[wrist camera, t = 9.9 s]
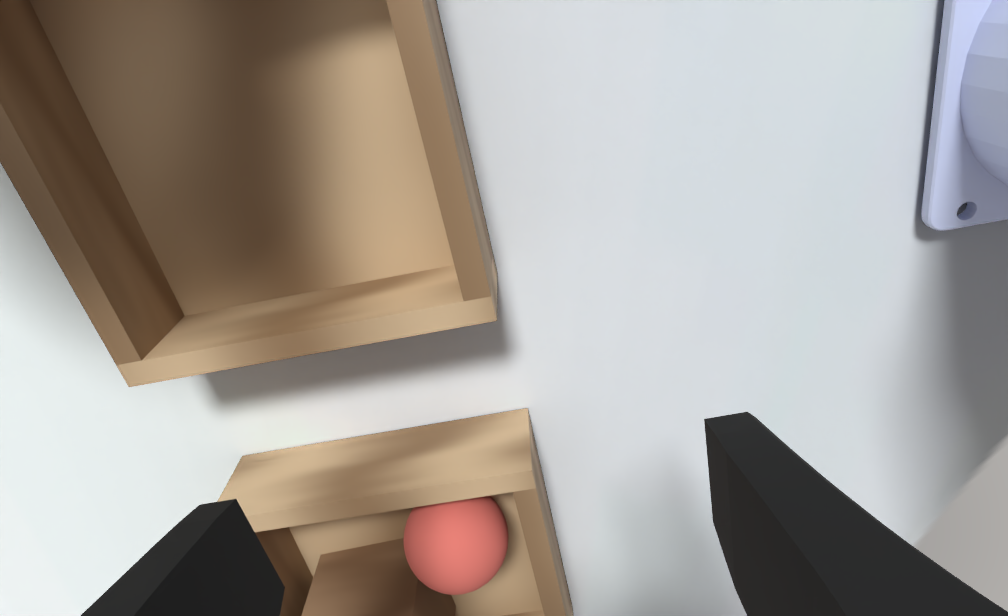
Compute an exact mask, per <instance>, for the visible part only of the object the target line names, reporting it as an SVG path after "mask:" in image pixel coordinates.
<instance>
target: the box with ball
mask: <svg viewBox="0 0 1008 616" xmlns="http://www.w3.org/2000/svg"><path fill="white" fill-rule="evenodd" d="M484 496H491V497H492V498H493V499H494V500H495V501H496V503H497V504H498V505H499V507H500V508H501V510H502V512H503V514H504V516H505V519H506V523H507V527H508V548H507V553H506V556H505V559H504V561H503V564H502V566H501V567H500V569H499V570H498V572H497V573H496V575H495V576H494V577H493V578H492V579H491V580H490V581H489V582H488V583H487V584H485V585H484V586H482V587H481V588H479V589H477V590H475V591H473V592H469V593H466V594H461V595H451V596H452V598H453V600H454V602H455V605H456V613H455V616H573V609H572V603H571V599H570V594H569V590H568V586H567V581H566V577H565V572H564V568H563V563H562V559H561V554H560V550H559V546H558V541H557V537H556V532H555V528H554V523H553V519H552V514H551V510H550V505H549V501H548V497H547V492H546V488H545V483H544V479H543V474H542V470H541V465H540V461H539V456H538V452H537V448H536V443H535V439H534V434H533V430H532V425H531V421H530V416H529V412H528V408H525V409H520V410H514V411H508V412H502V413H496V414H490V415H484V416H478V417H472V418H466V419H460V420H454V421H448V422H442V423H436V424H430V425H424V426H418V427H412V428H406V429H400V430H394V431H388V432H382V433H376V434H370V435H364V436H358V437H352V438H346V439H341V440H335V441H329V442H323V443H317V444H311V445H305V446H299V447H293V448H287V449H281V450H275V451H269V452H263V453H257V454H251V455H245V456H242V458H241V459H240V461H239V463H238V465H237V467H236V469H235V470H234V472H233V474H232V476H231V478H230V479H229V481H228V483H227V485H226V487H225V489H224V490H223V492H222V494H221V496H220V498H219V500H218V501H217V502H220V501H226V500H231V499H237V501H238V503H239V505H240V507H241V508H242V510H243V512H244V514H245V516H246V517H247V519H248V521H249V523H250V525H251V526H252V528H253V530H254V532H255V534H256V536H257V537H258V539H259V541H260V543H261V545H262V546H263V548H264V550H265V552H266V554H267V556H268V557H269V559H270V561H271V563H272V565H273V566H274V568H275V570H276V572H277V574H278V576H279V577H280V579H281V581H282V583H283V585H284V586H285V590H284V596H283V601H282V607H281V612H280V616H301V615H302V612H303V609H304V606H305V603H306V599H307V596H308V593H309V590H310V587H311V584H312V580H313V577H314V574H315V571H316V568H317V565H318V561H319V558H320V555H321V554H326V553H331V552H336V551H341V550H346V549H351V548H356V547H361V546H366V545H371V544H376V543H381V542H386V541H391V540H396V539H401V538H404V530H405V526H406V522H407V519H408V517H409V515H410V513H411V511H412V509H413V508H414V507H420V506H426V505H433V504H439V503H445V502H452V501H458V500H465V499H471V498H477V497H484Z"/></svg>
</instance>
